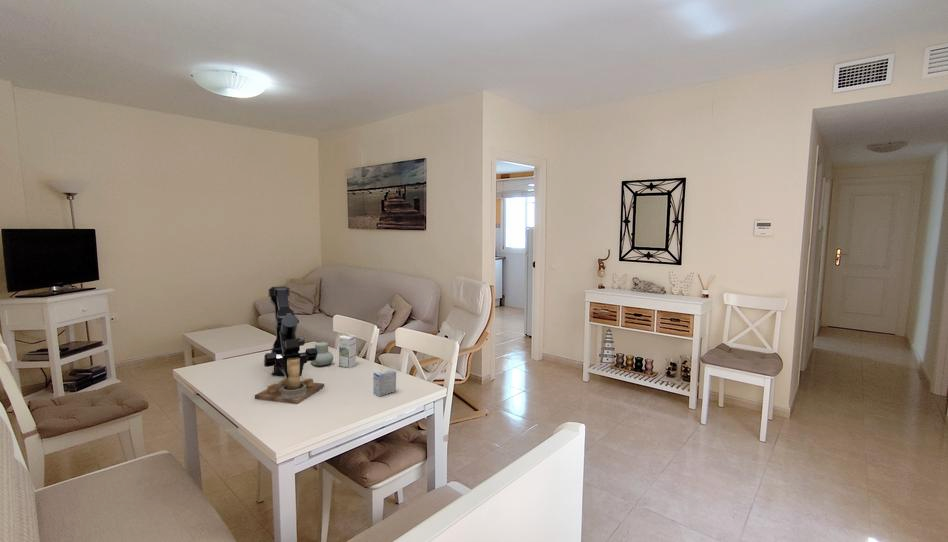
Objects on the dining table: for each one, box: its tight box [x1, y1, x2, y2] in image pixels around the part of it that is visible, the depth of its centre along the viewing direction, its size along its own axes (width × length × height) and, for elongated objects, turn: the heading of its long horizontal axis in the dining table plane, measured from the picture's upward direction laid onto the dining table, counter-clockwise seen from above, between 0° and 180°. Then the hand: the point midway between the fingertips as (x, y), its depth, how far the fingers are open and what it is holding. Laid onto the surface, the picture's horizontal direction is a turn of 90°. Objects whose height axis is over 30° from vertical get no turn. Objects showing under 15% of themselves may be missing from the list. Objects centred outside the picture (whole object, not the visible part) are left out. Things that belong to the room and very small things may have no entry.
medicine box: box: [372, 368, 397, 397], centre depth 171 cm, size 8×4×9 cm, turn 135°
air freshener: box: [310, 341, 334, 367], centre depth 206 cm, size 11×8×10 cm
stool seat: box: [254, 376, 325, 405], centre depth 169 cm, size 18×18×4 cm
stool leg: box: [287, 357, 301, 390], centre depth 163 cm, size 4×4×13 cm
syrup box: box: [338, 334, 357, 369], centre depth 204 cm, size 6×6×14 cm
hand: (294, 376), depth 162 cm, fingers closed on stool leg, 4 cm apart
